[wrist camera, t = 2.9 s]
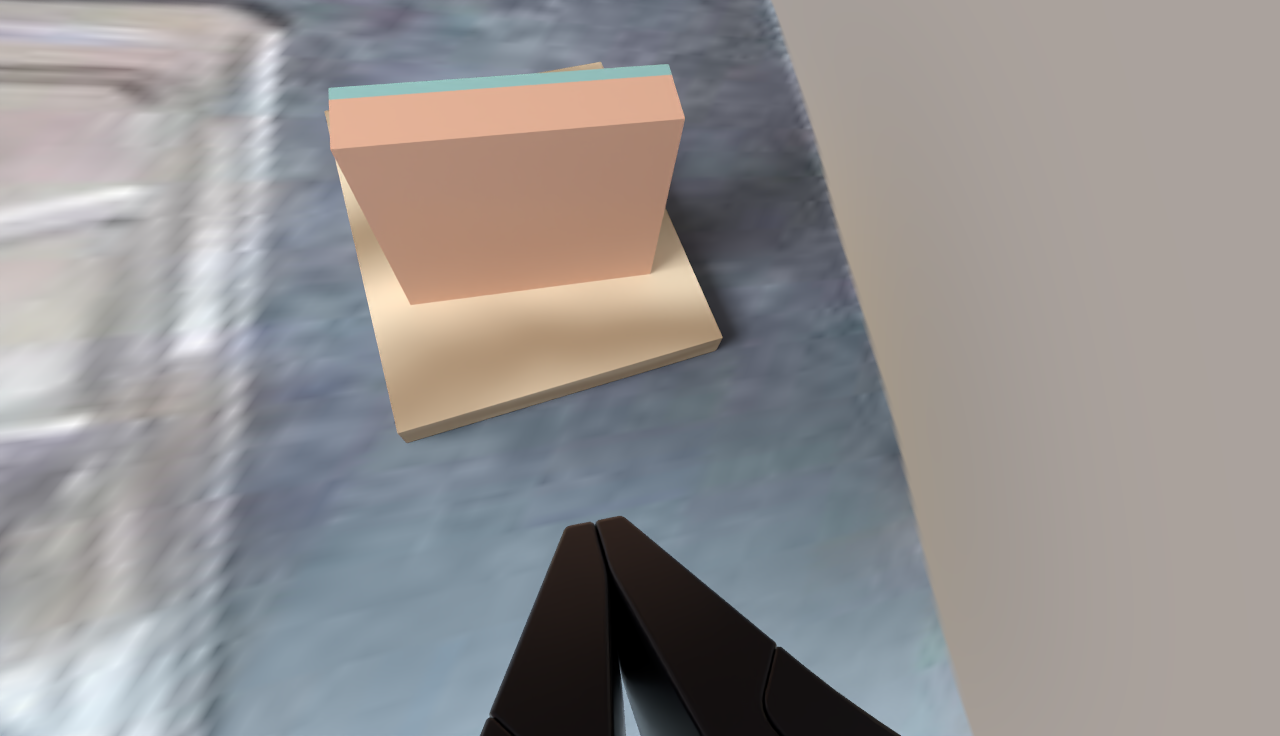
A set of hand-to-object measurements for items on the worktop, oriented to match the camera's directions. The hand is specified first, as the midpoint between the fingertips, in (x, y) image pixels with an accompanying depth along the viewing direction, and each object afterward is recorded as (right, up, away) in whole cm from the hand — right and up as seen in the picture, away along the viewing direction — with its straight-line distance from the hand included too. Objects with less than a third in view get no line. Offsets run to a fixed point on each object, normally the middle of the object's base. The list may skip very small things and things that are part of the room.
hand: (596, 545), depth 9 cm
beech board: (-4, +8, +16) cm, 19 cm away
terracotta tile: (-4, +6, +14) cm, 16 cm away
